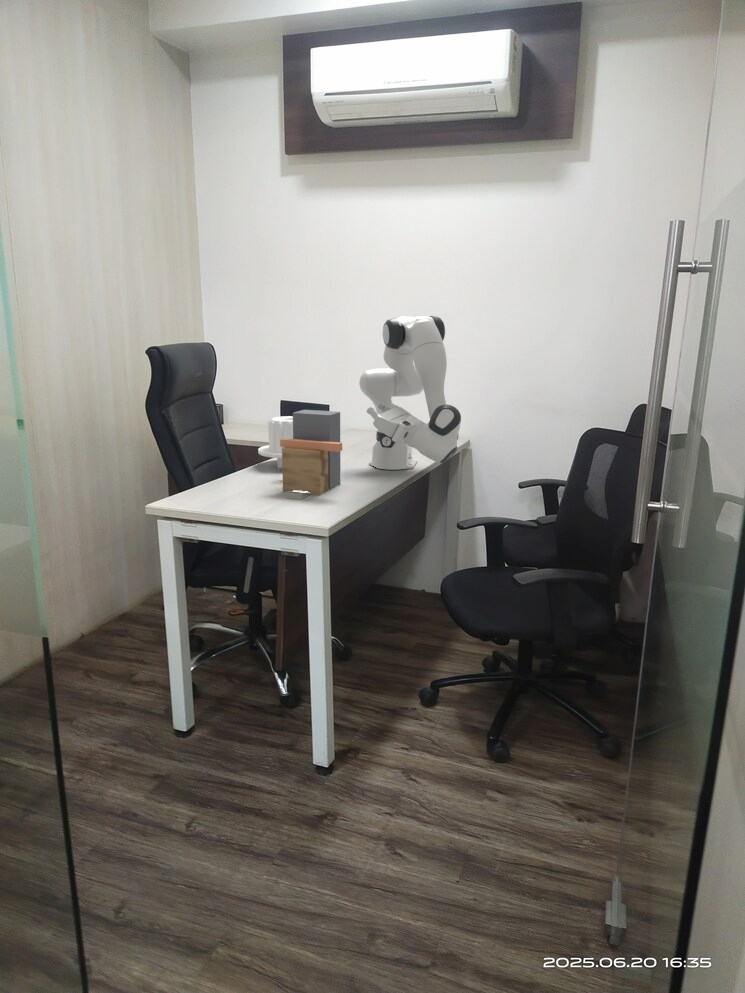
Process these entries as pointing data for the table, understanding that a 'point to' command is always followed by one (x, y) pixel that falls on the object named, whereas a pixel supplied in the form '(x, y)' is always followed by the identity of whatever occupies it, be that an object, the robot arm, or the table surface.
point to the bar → (311, 444)
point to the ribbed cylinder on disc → (277, 437)
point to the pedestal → (320, 436)
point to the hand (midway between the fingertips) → (373, 407)
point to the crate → (305, 470)
